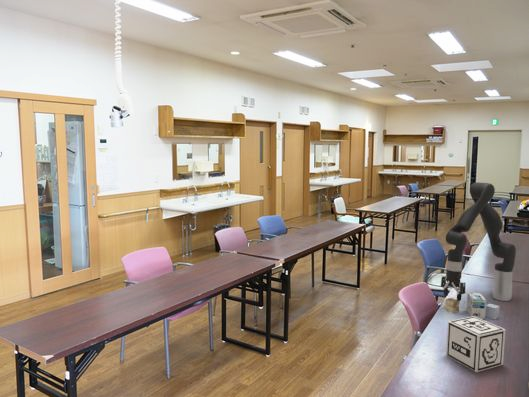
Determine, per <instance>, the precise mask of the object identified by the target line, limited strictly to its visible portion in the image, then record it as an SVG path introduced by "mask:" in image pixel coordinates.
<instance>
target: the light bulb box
mask: <svg viewBox="0 0 529 397" xmlns="http://www.w3.org/2000/svg"><path fill="white" fill-rule="evenodd" d="M466 296H467V298H466V299H467V301H466V302H467V303H466V312H467V313H468V315H469V317H472V316H475V317H477V318H480V319H482V320H486V317H485V312H486V305H487V299H486V298H485V297H484V296H483V295H482V294H481V293H480V292H471V291H467V295H466Z"/></svg>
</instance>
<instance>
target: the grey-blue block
mask: <svg viewBox="0 0 529 397" xmlns="http://www.w3.org/2000/svg"><path fill="white" fill-rule="evenodd" d="M500 308H501V307H500V305H496V304H492V303H488V304H486V312H485V318H488V319H492V320H496V319H498V318H499V317H500Z"/></svg>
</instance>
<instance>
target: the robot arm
mask: <svg viewBox="0 0 529 397" xmlns="http://www.w3.org/2000/svg"><path fill="white" fill-rule="evenodd" d="M495 192H496V188H495V186H494V185H493V183H489V182H473V183H471V185H470V187H469V194H470V196H471V199H472V200H473V203H474V204H473V205H471V206H470V207H468V208H467V209H466V210H465V211H464V212H462V213H461V215H460V217H459V219H458V220H457V222H456V223H455V224H454V225H453V226H452V228H450V229H449V230H448V231H447V233H446V234H445V242H446V243H447V244H448V245H451V246H455V247H454V248H451V249H448V251H447V252H448V253H447V262H446V270H445V271H446V272H445V275H444V276H441V279H440V281H441V282H440V287H441V288H443V296H444V297H447V296H448V295H449V288H453V289H454V291H455V292H456V299H457V301H461V300H462V297H463V296H462V295H465V294H466V282H461V280H462V274H463V272H462V271H463V254H464V251H465V248H466V245H467V243H468V239H467V236H466V235H465V233H467V232H469V231H470V230H471V227H472V226H473V224H474V223H475V220H476V219H477V217H478V216H479V215H480V218H481V220H482V223H483V225H484V226H483V227H484V229H485V231H486V233H487V236H488V240H489V244H490V248H491V251H492V254H493V255H494V256H495V257H496V258H500V259H503V260H502V262H500V263H499V262H498V263H495V264H494V272H493V273H494V274H493V286H492V287H493V288H492V298H493V299H494V300H497V301H502V302H509V301H511V300H512V298H513V297H512V296H513V274H514V272H513V270H514V268H515V267H514V266H515V260H516V255H517V249H516V246H515V244H512V243H508V242H503V241H502V240H501V237H500V233H501V231H502V229H503V225H504V224H503V221H502V218H501V216H500V213H499V212H498V211H497V210H496V209H495V208H494V207H493V206H492V205H491V204H490V203H489V202H490V201H491V200H492V198H493V197H494V195H495Z"/></svg>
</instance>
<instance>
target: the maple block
mask: <svg viewBox="0 0 529 397" xmlns="http://www.w3.org/2000/svg"><path fill="white" fill-rule="evenodd" d="M460 301H461V300H460ZM460 301H457V298H454V297H450V298H445V299H444V310H445V311H448V312H449V313H452V314H453V313H458V312H460Z"/></svg>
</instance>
